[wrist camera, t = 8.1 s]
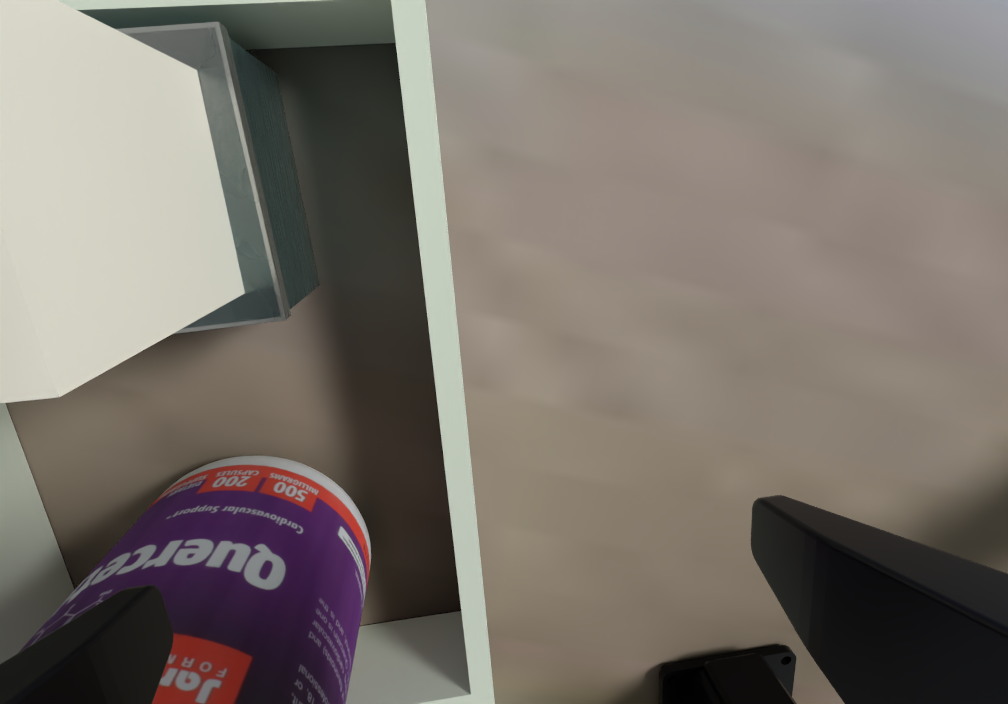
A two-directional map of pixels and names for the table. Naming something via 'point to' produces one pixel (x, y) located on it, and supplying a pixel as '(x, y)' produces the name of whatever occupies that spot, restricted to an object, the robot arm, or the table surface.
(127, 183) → the carton
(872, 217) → the table surface
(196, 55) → the tin
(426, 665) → the tote
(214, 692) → the pill bottle
